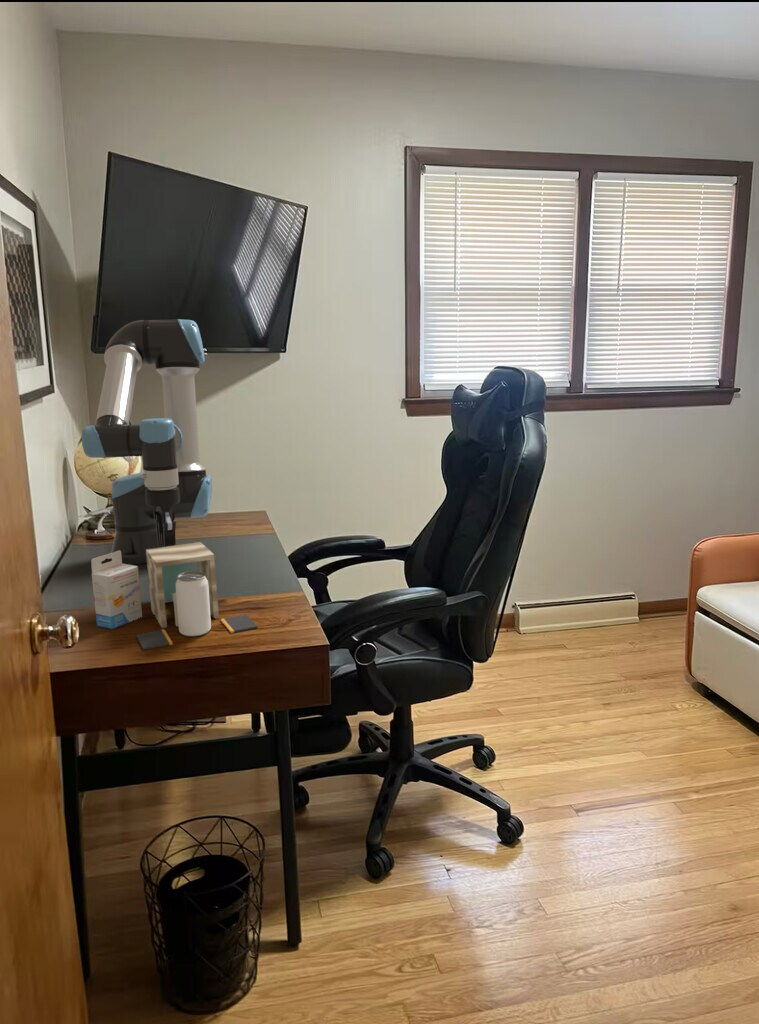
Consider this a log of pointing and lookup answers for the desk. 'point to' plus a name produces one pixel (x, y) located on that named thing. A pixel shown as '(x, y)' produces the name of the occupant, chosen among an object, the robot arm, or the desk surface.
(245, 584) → the desk surface
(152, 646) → the mats
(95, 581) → the ink box
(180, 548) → the tunnel
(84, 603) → the desk surface
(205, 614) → the can
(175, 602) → the slider
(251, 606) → the desk surface
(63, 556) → the desk surface
